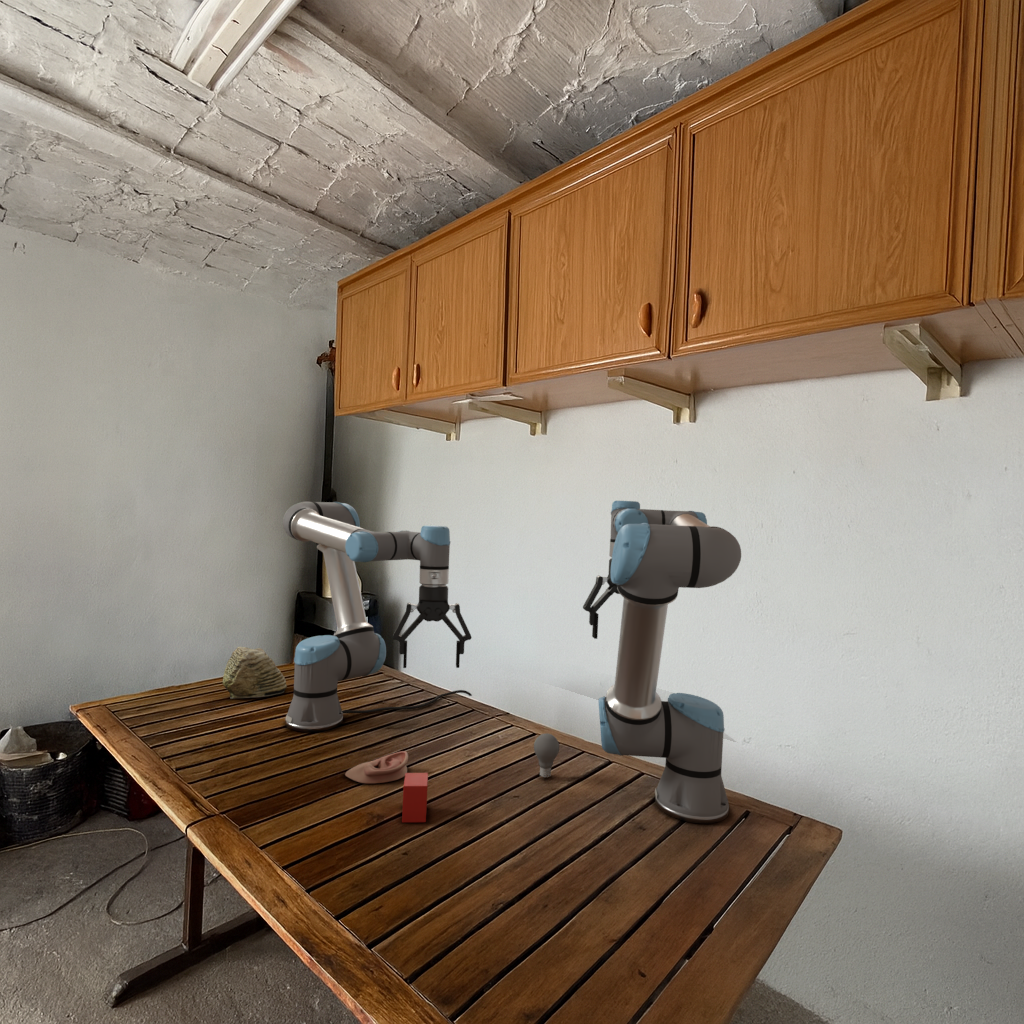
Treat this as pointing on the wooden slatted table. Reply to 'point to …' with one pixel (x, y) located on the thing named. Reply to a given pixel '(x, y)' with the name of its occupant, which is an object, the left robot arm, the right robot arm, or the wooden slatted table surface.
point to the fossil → (252, 674)
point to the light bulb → (546, 752)
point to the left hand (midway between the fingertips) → (431, 666)
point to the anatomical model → (380, 769)
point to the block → (415, 797)
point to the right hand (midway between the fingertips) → (619, 638)
